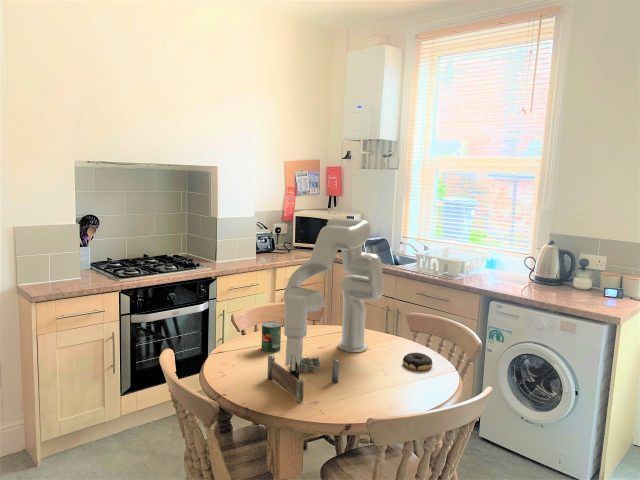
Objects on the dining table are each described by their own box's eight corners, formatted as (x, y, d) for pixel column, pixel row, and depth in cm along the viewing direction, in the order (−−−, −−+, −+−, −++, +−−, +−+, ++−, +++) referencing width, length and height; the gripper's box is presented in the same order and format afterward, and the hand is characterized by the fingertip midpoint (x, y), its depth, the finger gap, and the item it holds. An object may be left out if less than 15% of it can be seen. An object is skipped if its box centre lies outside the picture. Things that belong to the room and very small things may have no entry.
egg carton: (291, 372, 190) (291, 362, 189) (292, 365, 197) (292, 354, 197) (319, 373, 190) (319, 362, 189) (319, 365, 197) (319, 355, 197)
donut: (397, 366, 199) (398, 356, 199) (411, 358, 209) (412, 348, 208) (423, 374, 193) (424, 364, 192) (437, 365, 202) (437, 355, 202)
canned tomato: (257, 351, 210) (258, 325, 208) (267, 345, 217) (267, 320, 216) (275, 354, 207) (275, 328, 205) (283, 348, 214) (284, 322, 213)
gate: (274, 378, 182) (275, 360, 181) (302, 401, 166) (303, 381, 165) (270, 379, 182) (271, 361, 181) (298, 402, 165) (299, 382, 164)
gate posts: (268, 377, 185) (268, 355, 183) (338, 380, 184) (339, 359, 182) (267, 379, 182) (267, 358, 181) (338, 383, 181) (339, 361, 180)
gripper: (286, 322, 179) (285, 372, 182) (281, 337, 164) (280, 391, 167) (308, 323, 179) (306, 373, 182) (305, 338, 164) (303, 392, 167)
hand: (294, 381), depth 174 cm, fingers closed
